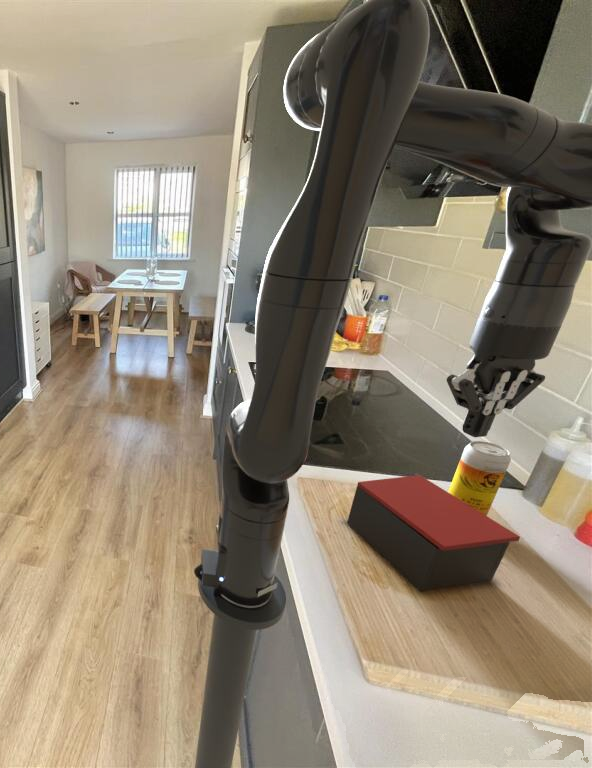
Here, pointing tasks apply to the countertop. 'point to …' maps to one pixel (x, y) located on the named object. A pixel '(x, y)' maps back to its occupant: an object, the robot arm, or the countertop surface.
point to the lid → (437, 513)
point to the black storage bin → (421, 549)
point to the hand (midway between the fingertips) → (473, 434)
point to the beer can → (480, 474)
